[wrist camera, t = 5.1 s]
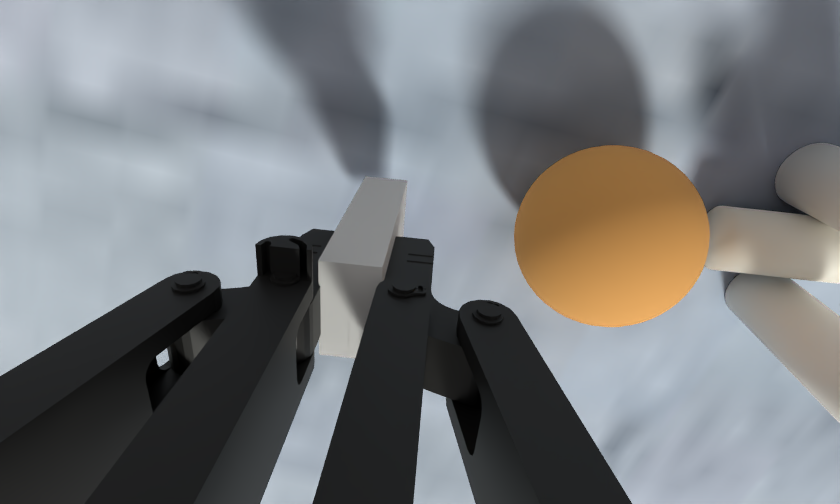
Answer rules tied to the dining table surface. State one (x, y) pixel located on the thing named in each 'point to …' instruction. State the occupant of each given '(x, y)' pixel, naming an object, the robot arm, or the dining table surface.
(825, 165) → the pin
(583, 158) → the ball
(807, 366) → the pin
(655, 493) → the dining table surface
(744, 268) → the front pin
